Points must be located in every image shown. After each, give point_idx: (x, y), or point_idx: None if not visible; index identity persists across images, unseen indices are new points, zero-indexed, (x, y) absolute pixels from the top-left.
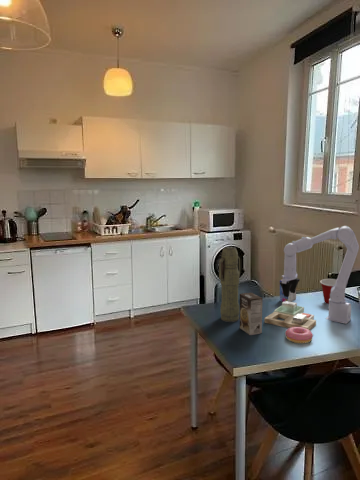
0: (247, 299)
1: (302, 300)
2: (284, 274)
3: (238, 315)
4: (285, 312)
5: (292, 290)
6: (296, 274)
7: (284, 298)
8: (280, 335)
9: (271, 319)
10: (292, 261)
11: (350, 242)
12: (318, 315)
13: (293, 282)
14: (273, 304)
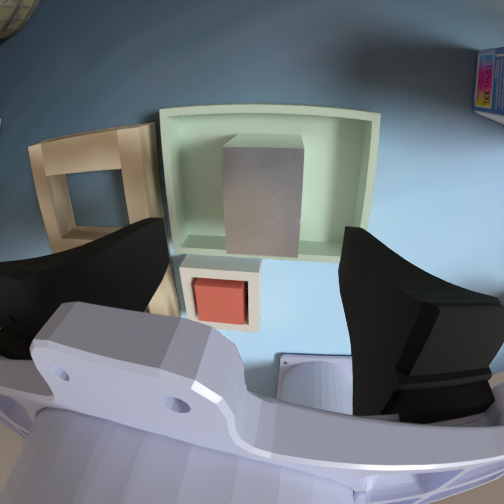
0: None
1: None
2: (10, 470)
3: (2, 31)
4: (170, 196)
5: (346, 268)
6: (451, 495)
7: (492, 84)
8: (22, 251)
9: (37, 184)
10: None
11: None
12: (331, 320)
13: (367, 367)
14: (400, 15)
